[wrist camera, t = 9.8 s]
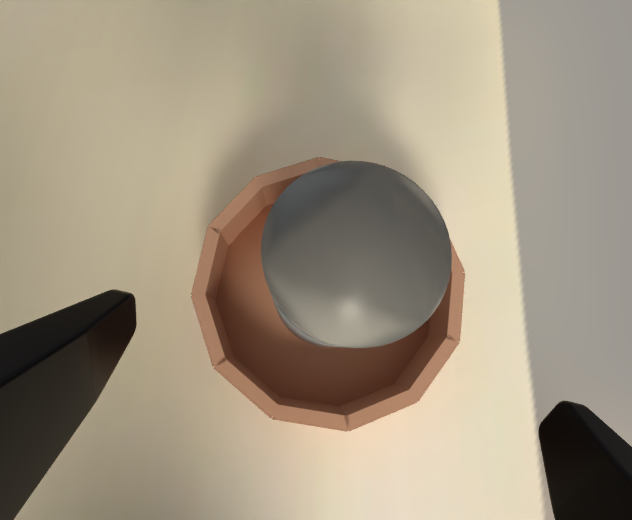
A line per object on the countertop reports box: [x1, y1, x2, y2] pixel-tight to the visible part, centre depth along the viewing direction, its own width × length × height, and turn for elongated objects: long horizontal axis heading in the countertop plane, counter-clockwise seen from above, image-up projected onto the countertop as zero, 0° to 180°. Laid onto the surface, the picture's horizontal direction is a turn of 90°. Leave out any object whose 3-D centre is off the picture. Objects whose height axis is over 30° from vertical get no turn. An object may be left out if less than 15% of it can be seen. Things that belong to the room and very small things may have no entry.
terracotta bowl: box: [191, 157, 465, 431], centre depth 19 cm, size 12×12×4 cm
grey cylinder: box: [261, 161, 452, 348], centre depth 15 cm, size 6×6×9 cm
